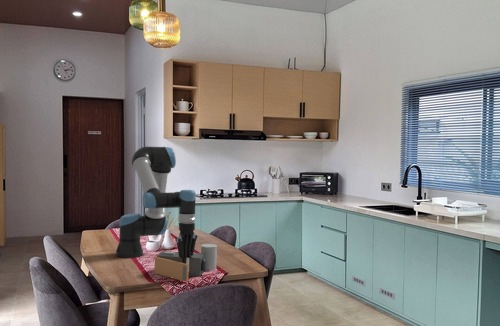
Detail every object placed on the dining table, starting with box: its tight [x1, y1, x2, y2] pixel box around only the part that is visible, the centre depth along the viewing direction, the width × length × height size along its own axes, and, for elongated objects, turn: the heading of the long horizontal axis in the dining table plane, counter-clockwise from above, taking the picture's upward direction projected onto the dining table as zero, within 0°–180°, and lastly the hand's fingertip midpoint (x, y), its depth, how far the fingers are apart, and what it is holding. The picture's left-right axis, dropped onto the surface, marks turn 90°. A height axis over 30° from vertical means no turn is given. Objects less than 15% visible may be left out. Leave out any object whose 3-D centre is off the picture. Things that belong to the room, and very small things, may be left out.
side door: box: [154, 256, 189, 283], centre depth 224 cm, size 22×2×8 cm, turn 54°
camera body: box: [156, 250, 207, 277], centre depth 235 cm, size 24×10×10 cm, turn 84°
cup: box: [200, 243, 218, 271], centre depth 245 cm, size 8×8×12 cm
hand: (185, 271), depth 226 cm, fingers closed
